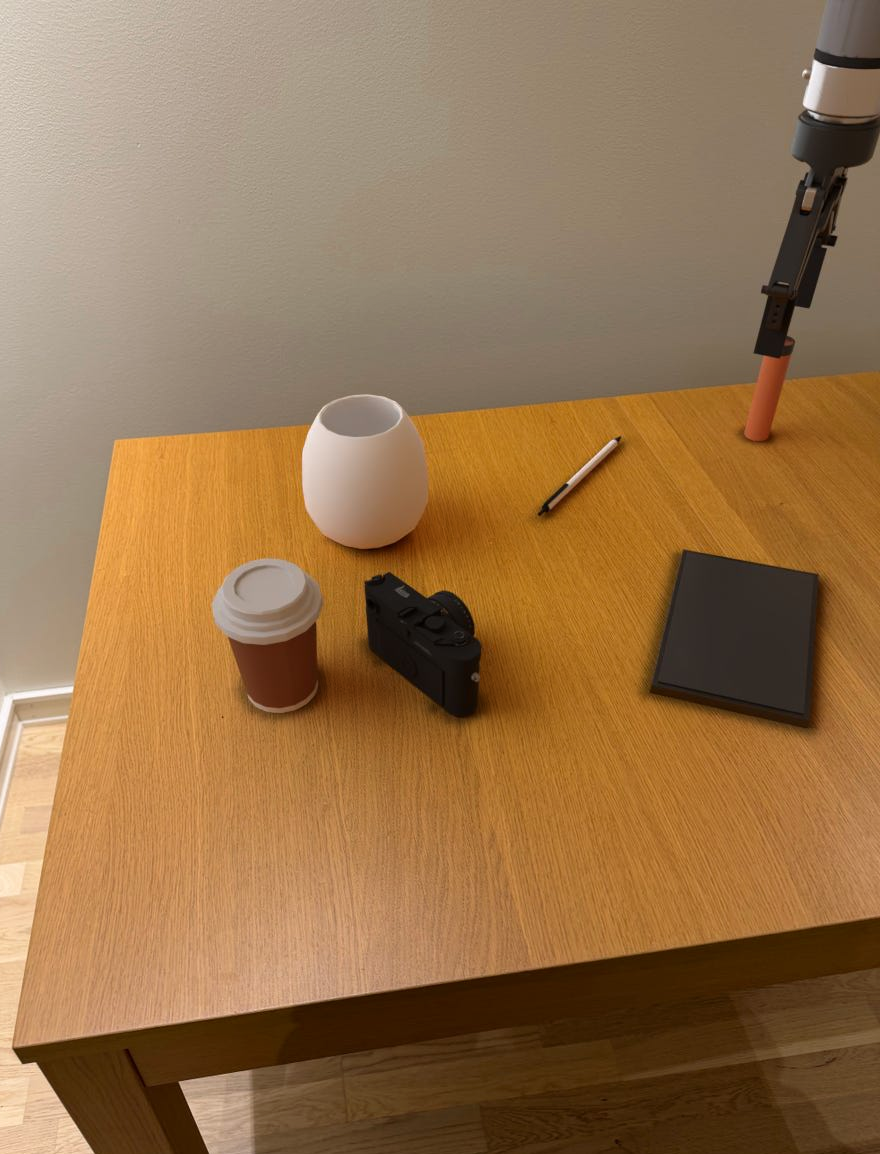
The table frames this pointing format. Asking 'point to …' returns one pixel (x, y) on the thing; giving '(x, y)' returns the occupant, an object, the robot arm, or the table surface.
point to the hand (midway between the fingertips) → (782, 329)
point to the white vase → (364, 472)
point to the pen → (578, 476)
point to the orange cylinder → (768, 393)
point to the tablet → (740, 638)
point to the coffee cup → (272, 631)
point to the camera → (425, 641)
